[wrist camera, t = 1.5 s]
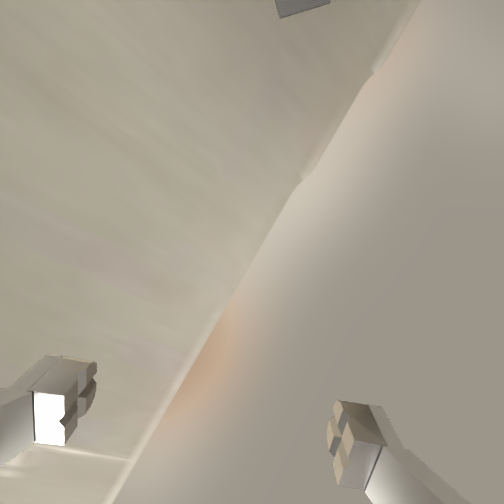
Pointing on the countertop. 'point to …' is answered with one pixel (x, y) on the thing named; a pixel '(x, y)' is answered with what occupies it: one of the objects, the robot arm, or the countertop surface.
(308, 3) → the mat
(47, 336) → the countertop surface
